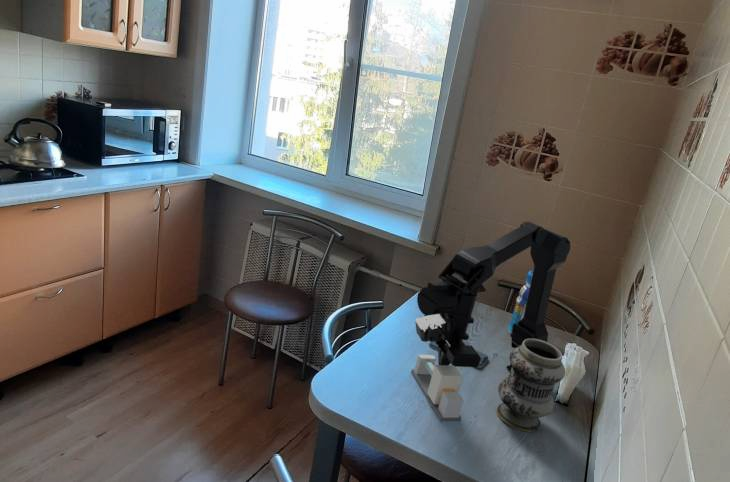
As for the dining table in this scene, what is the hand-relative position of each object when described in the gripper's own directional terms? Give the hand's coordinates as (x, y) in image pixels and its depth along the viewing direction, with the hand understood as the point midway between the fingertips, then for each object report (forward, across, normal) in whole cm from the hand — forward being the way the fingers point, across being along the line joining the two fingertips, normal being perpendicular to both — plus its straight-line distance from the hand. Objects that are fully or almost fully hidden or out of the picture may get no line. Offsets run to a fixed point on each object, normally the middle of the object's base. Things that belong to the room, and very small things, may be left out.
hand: (440, 369), depth 117 cm
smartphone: (+8, -19, +15) cm, 25 cm away
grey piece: (+6, 0, 0) cm, 7 cm away
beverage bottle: (+8, -31, +42) cm, 53 cm away
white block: (+5, +3, 0) cm, 6 cm away
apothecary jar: (+6, +8, +18) cm, 20 cm away
